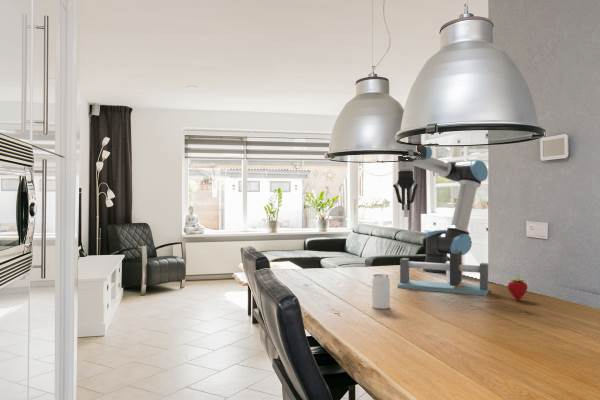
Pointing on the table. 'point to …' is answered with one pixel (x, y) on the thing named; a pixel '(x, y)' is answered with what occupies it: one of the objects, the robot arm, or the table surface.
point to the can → (380, 291)
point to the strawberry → (517, 288)
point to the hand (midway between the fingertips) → (406, 216)
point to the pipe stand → (443, 287)
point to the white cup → (449, 272)
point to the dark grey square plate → (455, 268)
